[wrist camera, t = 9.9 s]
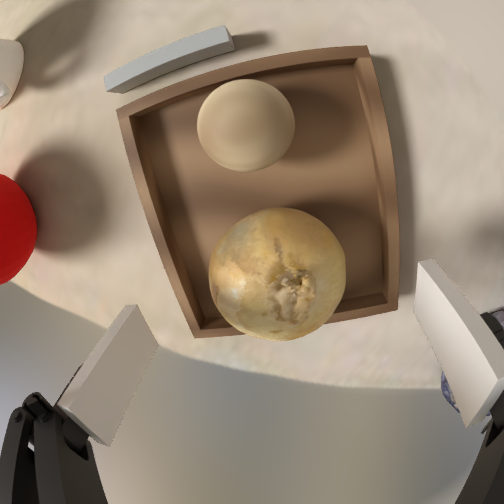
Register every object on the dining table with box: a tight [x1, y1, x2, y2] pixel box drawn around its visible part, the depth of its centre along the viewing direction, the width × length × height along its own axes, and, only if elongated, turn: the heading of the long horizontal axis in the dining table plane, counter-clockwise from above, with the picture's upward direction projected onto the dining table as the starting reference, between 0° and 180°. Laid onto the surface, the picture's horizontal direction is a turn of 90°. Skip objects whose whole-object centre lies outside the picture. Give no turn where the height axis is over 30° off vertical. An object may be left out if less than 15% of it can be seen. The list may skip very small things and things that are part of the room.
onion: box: [209, 208, 346, 341], centre depth 15 cm, size 8×8×7 cm
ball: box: [197, 79, 295, 172], centre depth 13 cm, size 5×5×5 cm
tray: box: [116, 46, 400, 338], centre depth 17 cm, size 18×16×2 cm
